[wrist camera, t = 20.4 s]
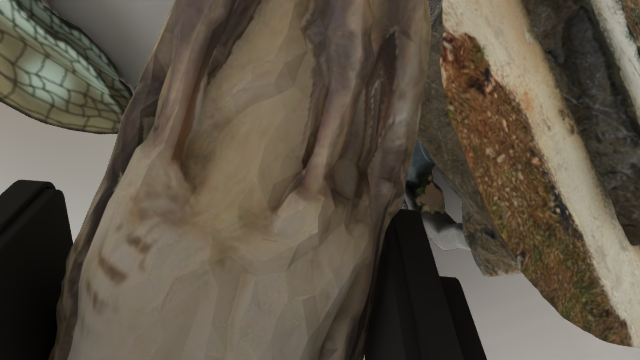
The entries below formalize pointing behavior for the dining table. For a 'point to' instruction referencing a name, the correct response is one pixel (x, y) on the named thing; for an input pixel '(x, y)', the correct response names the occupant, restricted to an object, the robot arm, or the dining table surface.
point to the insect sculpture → (57, 71)
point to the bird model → (250, 185)
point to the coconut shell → (539, 150)
